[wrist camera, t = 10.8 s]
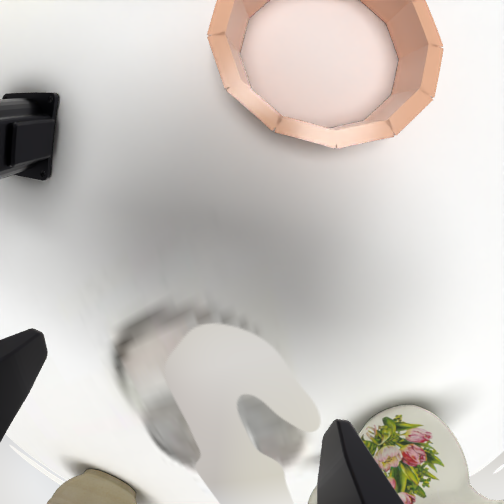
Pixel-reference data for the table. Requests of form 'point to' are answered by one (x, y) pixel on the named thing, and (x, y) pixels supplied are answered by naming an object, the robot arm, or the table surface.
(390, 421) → the pitcher
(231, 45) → the ring
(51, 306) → the table surface
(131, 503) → the planter bowl
